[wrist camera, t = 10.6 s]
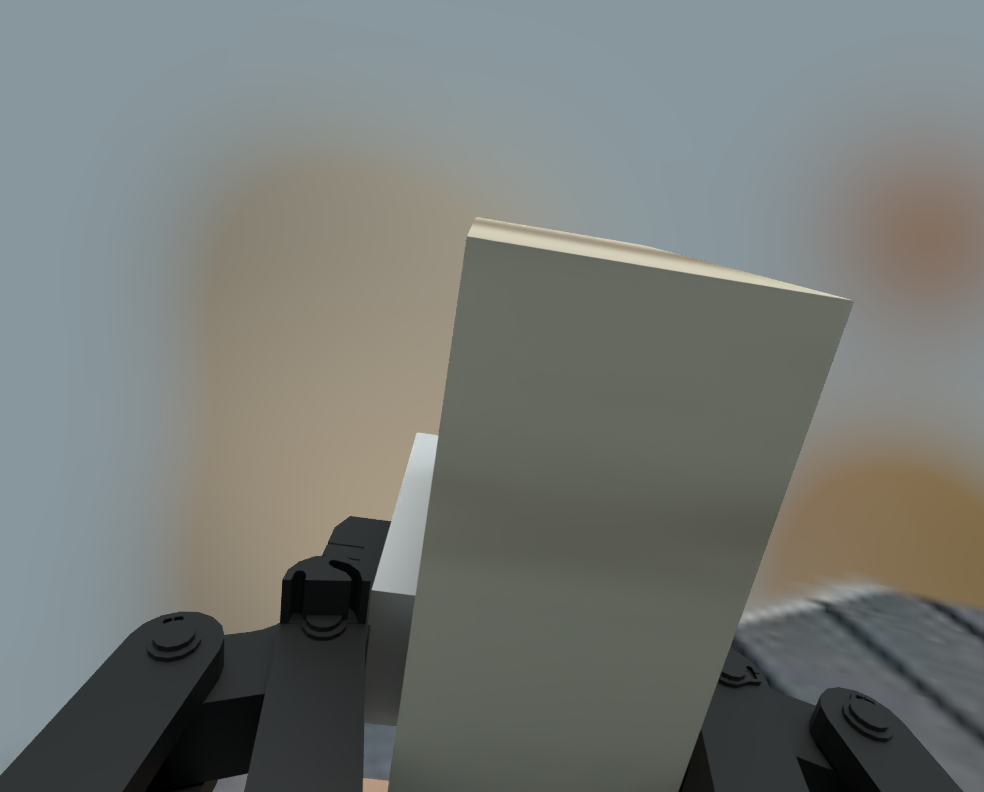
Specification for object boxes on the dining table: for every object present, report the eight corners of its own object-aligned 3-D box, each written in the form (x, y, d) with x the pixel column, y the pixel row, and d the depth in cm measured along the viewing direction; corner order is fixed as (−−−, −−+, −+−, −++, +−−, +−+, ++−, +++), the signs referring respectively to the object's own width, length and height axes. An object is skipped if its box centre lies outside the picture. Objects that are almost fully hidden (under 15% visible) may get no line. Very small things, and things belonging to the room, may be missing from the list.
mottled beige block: (391, 794, 17) (476, 217, 12) (511, 806, 17) (645, 245, 12) (330, 1190, 10) (467, 236, 5) (530, 1203, 10) (854, 299, 5)
